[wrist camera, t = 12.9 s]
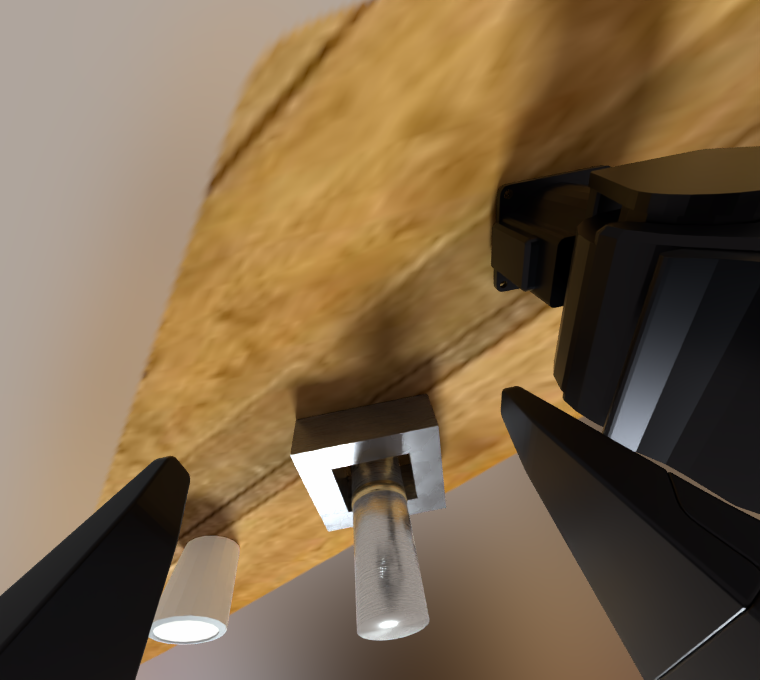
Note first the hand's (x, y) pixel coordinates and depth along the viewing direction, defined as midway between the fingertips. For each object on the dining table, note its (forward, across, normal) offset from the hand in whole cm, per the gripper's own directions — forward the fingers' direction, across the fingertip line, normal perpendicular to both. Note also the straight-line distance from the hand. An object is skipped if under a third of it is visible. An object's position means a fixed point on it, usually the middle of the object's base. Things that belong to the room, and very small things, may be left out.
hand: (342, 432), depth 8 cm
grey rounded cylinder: (+13, +1, +17) cm, 21 cm away
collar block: (+13, +1, +17) cm, 21 cm away
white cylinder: (+13, +21, +28) cm, 37 cm away
